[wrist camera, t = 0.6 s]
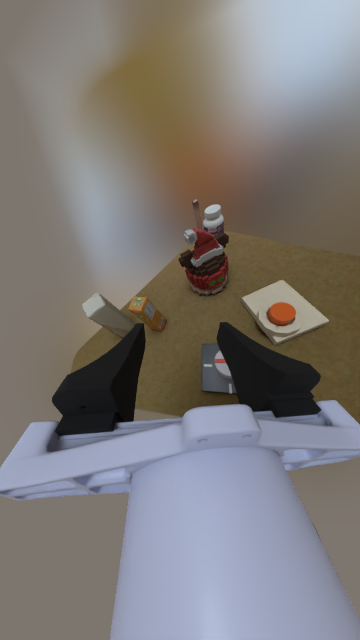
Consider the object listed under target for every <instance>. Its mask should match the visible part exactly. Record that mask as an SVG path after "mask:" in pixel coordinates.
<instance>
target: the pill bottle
mask: <svg viewBox="0 0 360 640" xmlns="http://www.w3.org/2000/svg"><path fill="white" fill-rule="evenodd" d="M220 213H221V207H220V205H212V206H209V207H207V208H206V209H205V219H204V222H203V225H204V231H206V232H208V233H210V234H212V235H213V236H215V235H217V234H218V233H220V232H223V233H224V218H223V216H222V215H221V214H220Z"/></svg>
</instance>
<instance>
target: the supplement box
mask: <svg viewBox="0 0 360 640" xmlns="http://www.w3.org/2000/svg"><path fill="white" fill-rule="evenodd" d="M129 310H130V311H131V312H132V313H134V314H135V315H136V316H137V317H138V318H139V319H140V320H142V321H143V322H144V323H145V324H146V325H147V326H149V327H150V328H151V329H152V330H157V331H163V328H164V325H165V322H166V319H165V318H164V317H163V316H162V315H161V313H160V312H159V311H158V310H157V309H156V308H155V307H154V305H153V304H152V303H151V302H150V301H149V299H148V298H147V297H136V296H134V297H133V300H132V302H131V304H130V306H129Z"/></svg>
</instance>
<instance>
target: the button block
mask: <svg viewBox="0 0 360 640" xmlns="http://www.w3.org/2000/svg"><path fill="white" fill-rule="evenodd" d="M279 302H284V303H288V304H290V305H292V306H293V307H294V308H295V310H296V316H295V317H294V318H293V320H292V321H291V322H290V323H289V324H287V325H283V326H280V325H275V324H273V323H272V322H270V320H269V319H268V312H269V310H270V308H271V306H272V305H273V304H275V303H279ZM241 303H242V304H243V305H244V306H245V308H246V309H247V310H248V312H249V313H250V314H251V316H252V317H253V318H254V320H255V321H256V322H257V324H258V325H259V327H260V328H261V329H262V331H263V332H264V333H265V334H266V335H267V337H268V338H269V339H270V340H271V342H272V343H273V344H274V345H277V344H280V343H282V342H284V341H287V340H289V339H292V338H294V337H297V336H299V335H301V334H304V333H306V332H309V331H311V330H314V329H316V328H318V327H321V326H323V325H325V324H326V323H327V322H329V320H328V319H327V318H326V317H325V316H323V315H322V314H321V313H320V312H319V311H318V310H317V309H316V308H314V307H313V306H312V305H311V304H310V303H309V302H308V301H306V300H305V299H304V298H303V297H302V296H301V295H300V294H298V293H297V292H296V291H295V290H294V289H293V288H292V287H291V286H289V285H288V284H287V283H286V282H285V281H284V280H280V281H278V282H276V283H274V284H271V285H269V286H267V287H265V288H263V289H260V290H258V291H256V292H254V293H251V294H249V295H247V296H245V297H242V300H241Z"/></svg>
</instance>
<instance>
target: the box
mask: <svg viewBox="0 0 360 640" xmlns="http://www.w3.org/2000/svg"><path fill="white" fill-rule="evenodd" d="M82 307H83V309H84V311H85V313H86V315H87V317H88V318H89V319H91V320H93V321H94V322H96V323H98V324H100V325H101V326H103V327H105V328H106V329H108V330H110V331H112V332H113V333H115V334H117V335H119V336H120V337H122V338H123V337H125V336H126V335H127V334H128V333H129V332H130V331H131V329H132V328H133V327H134V325H133V323H132V322H131V321H130V319H129V318H128V317H127V316H126V315H125V314H124V313H122V312H121V311H120V310H119V309H117V308H116V307H115V306H114V305H112V304H111V303H110V302H109V301H108V300H107V299H105V298H104V297H103V296H102V295H100V294H99V293H98V292H97V293H96V294H95V295H93V296H92V297H91V298H90V299H88V300H87V301H86V302H84V303H83V304H82Z"/></svg>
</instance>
